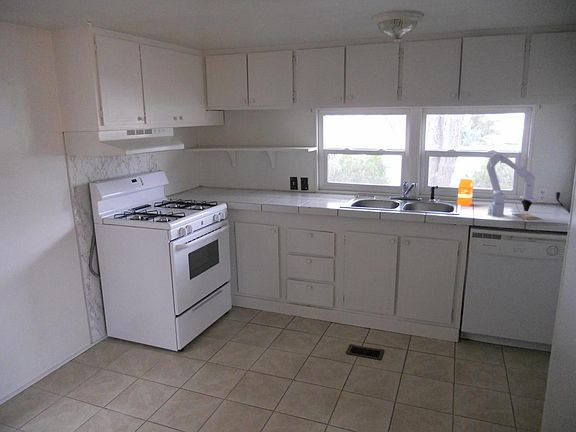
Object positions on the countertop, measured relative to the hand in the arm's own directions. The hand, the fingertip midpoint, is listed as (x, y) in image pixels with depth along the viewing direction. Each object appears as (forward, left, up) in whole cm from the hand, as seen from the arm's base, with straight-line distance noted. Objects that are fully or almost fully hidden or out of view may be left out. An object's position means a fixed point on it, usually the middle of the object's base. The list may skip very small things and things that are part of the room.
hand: (526, 211), depth 299 cm
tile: (0, +1, -4) cm, 4 cm away
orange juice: (-19, +50, -5) cm, 54 cm away
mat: (+2, +3, -5) cm, 6 cm away
